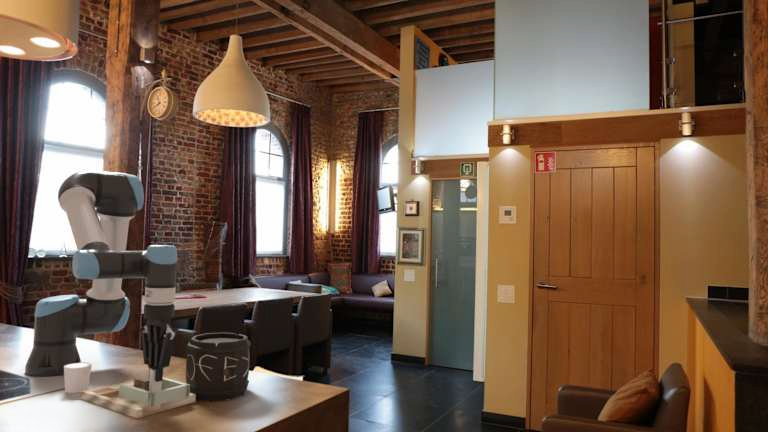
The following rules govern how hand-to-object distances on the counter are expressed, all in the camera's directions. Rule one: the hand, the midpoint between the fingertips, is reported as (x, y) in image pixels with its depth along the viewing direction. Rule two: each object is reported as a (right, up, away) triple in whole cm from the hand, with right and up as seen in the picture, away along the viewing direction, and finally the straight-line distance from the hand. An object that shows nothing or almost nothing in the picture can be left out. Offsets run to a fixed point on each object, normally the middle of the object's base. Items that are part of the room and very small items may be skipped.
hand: (154, 392), depth 143 cm
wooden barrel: (+13, -4, +11) cm, 18 cm away
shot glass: (-26, -3, +10) cm, 28 cm away
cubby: (0, -1, 0) cm, 1 cm away
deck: (-5, -3, +2) cm, 6 cm away
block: (-3, -1, +2) cm, 4 cm away
